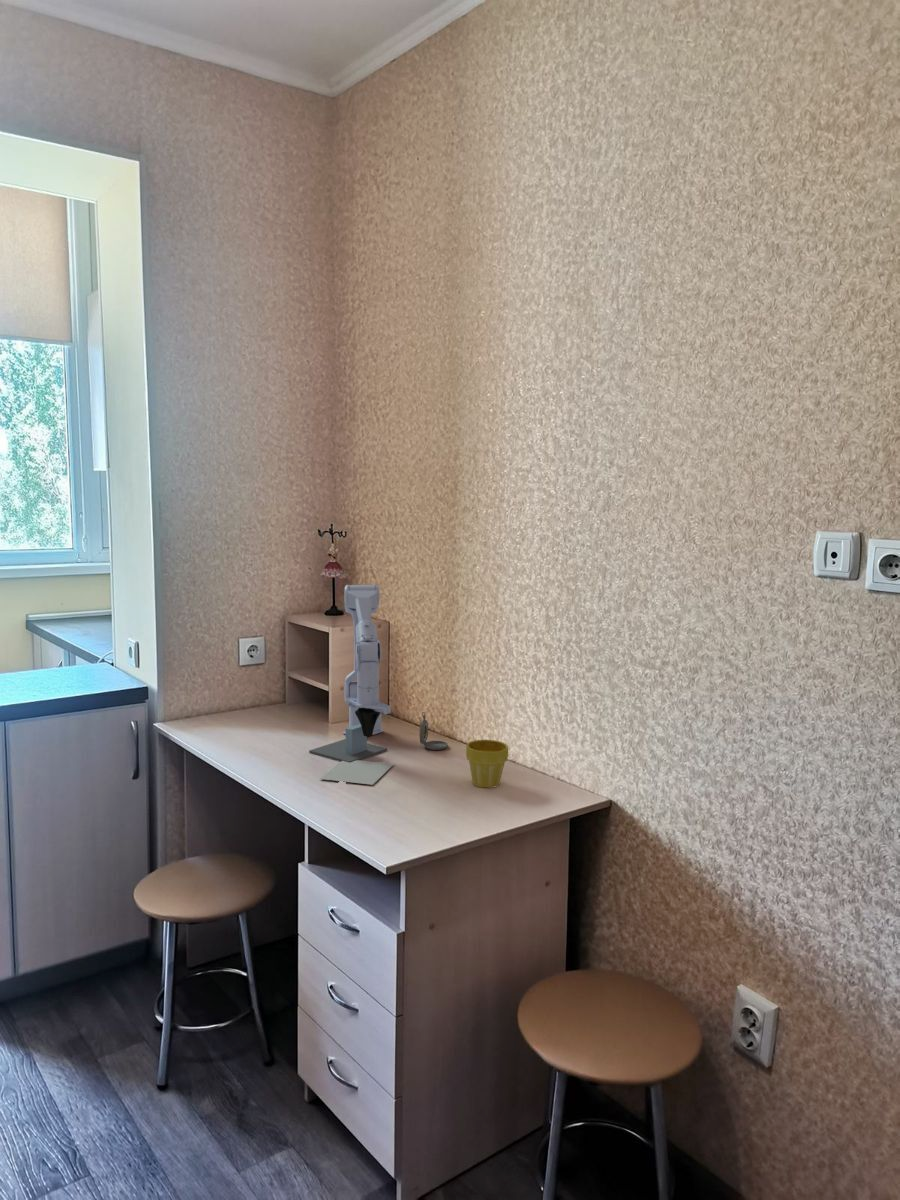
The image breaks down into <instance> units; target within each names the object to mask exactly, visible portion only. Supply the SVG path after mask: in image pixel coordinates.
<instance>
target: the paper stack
mask: <svg viewBox="0 0 900 1200" xmlns="http://www.w3.org/2000/svg"><path fill="white" fill-rule="evenodd" d="M394 765H395V763H389V762H379V761H369V760H363V759H362V760H355V761H352V762H346V761H339V763H337V764H336V765H335V766H334V767H332V768H331V769H329V771H328V772H326V773H325V774H324V775H322V776H321V777H320V778H319V780H326V781H336V782H338V781H343V782H346V783H353V784H354V783H355V784H363V785H369V786H370V785H372V786H373V785H374V784H375V783H376V782H378V780H379V779H380V778H381V777H383V776H384V774H385V773H387V772H388V771H389V770H390V769H391V768H392V767H393V766H394Z"/></svg>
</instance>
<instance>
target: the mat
mask: <svg viewBox="0 0 900 1200" xmlns="http://www.w3.org/2000/svg"><path fill="white" fill-rule="evenodd" d="M386 750H387V751H388V747H383V746H380V745H376V744H371V743H368V742H367V750H365V751H362V752H359V753H356V754H353V755H350V754H346V738H344V739H341V740H338V741H334V742H332V743H331V742H330V743H329V744H326V745H321V746H319V747H315V748H313V749H310V750H309V751H308V752H309V754H312V753H313V755H316V756H321V757H324V758H328V759H330V760H334V759H335V760H334V761H337V760H338V762H341V761H346V762H352V761H355V760H361V759H362V760H364V759H367V758H369V756H370V757H372V755H373V756H375V755H374V754H376V755H378V754H380V752H381V753H383V751H384V752H386ZM377 753H378V754H377ZM363 758H364V759H363Z"/></svg>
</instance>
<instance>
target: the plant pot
mask: <svg viewBox="0 0 900 1200" xmlns="http://www.w3.org/2000/svg"><path fill="white" fill-rule="evenodd" d="M465 754H466V755H465V757H466V760H467V761H468V762H469V764H468V765H469V769H470V776H471V781H472V784H473V785H474V786H475V785H476V786H475V787H477V786H479V787H478V788H482V787H493V788H495V787H494V786H497V785H498V786H499V785H500V783H501V779H502V774H503V772H504V771H503V770H504V767H505V763H506V762H508V758H509V746H508V744H507V743H505V742H503V741H500V740H499V741H498V740H493V739H476V740H475V739H474V740H472V741H469V742H468V743H467V744H466V748H465ZM498 786H497V787H498Z"/></svg>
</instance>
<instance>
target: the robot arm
mask: <svg viewBox="0 0 900 1200" xmlns="http://www.w3.org/2000/svg"><path fill="white" fill-rule="evenodd" d="M343 594H344V595H343V597H344V598H343V599H344V610H345V613H346V614H349V615H351V618H352V621H353V622H352V623H353V670H352V671H351V672H349V674H347V675H346V676H345V678H344V685H343V686H344V689H343V691H344V692H343V693H344V694H343V695H344V702H345V706H348V709H349V710H348V716H349V717H348V718H349V719H348V720H349V722H348V723H349V724H348V725H349V726H348V727H352V726H355V725H358V724H361V727H362V731H363V735H364V736H366V737H367V738H368V737H371V736H374V735H377V734H379V733H382V732H384V729H382V714H383V715H389V714H391V713H392V706H391V705H388V704H385V703H384V702H381V701H379V700H380V689H379V688H380V687H379V685H380V684H379V683H380V682H379V681H380V663H381V660H382V645H381V642H380V640H379V638H378V632H377V630H378V629H377V625H376V623H374V622H373V621H372V616H373V615H372V614H375V613H377V610H378V609H379V608H378V607H379V604H380V587H379V585H378V584H363V585H362V584H351V585H350V584H346V585H345V586H344V593H343ZM342 734H344V735H346V730H345V731H342Z"/></svg>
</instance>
